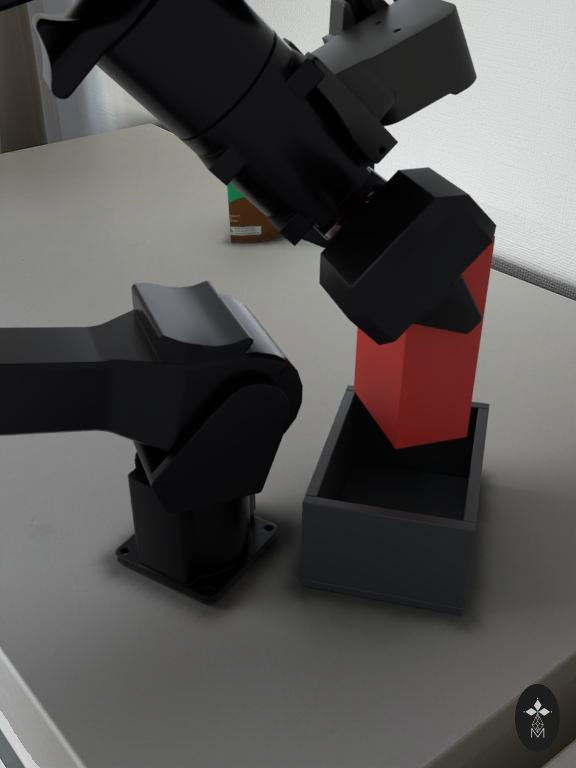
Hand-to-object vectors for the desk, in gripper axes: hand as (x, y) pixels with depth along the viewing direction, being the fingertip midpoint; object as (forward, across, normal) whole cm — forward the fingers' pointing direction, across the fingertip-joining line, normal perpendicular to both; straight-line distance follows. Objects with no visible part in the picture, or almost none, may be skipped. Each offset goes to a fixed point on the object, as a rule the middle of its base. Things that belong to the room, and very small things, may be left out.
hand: (444, 298), depth 44 cm
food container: (+12, +44, +6) cm, 46 cm away
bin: (+8, -2, +11) cm, 13 cm away
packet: (+4, 0, +6) cm, 7 cm away
